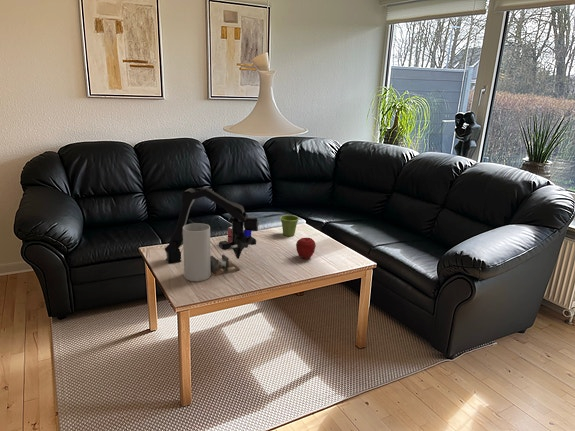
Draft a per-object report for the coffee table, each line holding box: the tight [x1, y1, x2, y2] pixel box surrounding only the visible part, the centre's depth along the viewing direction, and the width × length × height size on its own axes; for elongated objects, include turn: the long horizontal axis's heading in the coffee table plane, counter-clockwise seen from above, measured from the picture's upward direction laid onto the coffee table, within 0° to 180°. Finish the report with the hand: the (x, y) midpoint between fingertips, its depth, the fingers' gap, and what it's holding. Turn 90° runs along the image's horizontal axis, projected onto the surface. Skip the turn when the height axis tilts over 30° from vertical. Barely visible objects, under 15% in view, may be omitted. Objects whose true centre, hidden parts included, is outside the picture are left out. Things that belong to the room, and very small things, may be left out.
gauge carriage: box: [216, 254, 230, 270], centre depth 213 cm, size 4×10×4 cm, turn 32°
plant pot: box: [279, 214, 300, 237], centre depth 268 cm, size 12×12×11 cm
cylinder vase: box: [182, 222, 212, 282], centre depth 202 cm, size 12×12×25 cm
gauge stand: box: [210, 254, 240, 277], centre depth 214 cm, size 13×12×6 cm
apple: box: [295, 237, 316, 260], centre depth 233 cm, size 11×11×12 cm
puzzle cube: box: [227, 224, 252, 242], centre depth 249 cm, size 10×10×10 cm
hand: (237, 258), depth 219 cm, fingers closed
